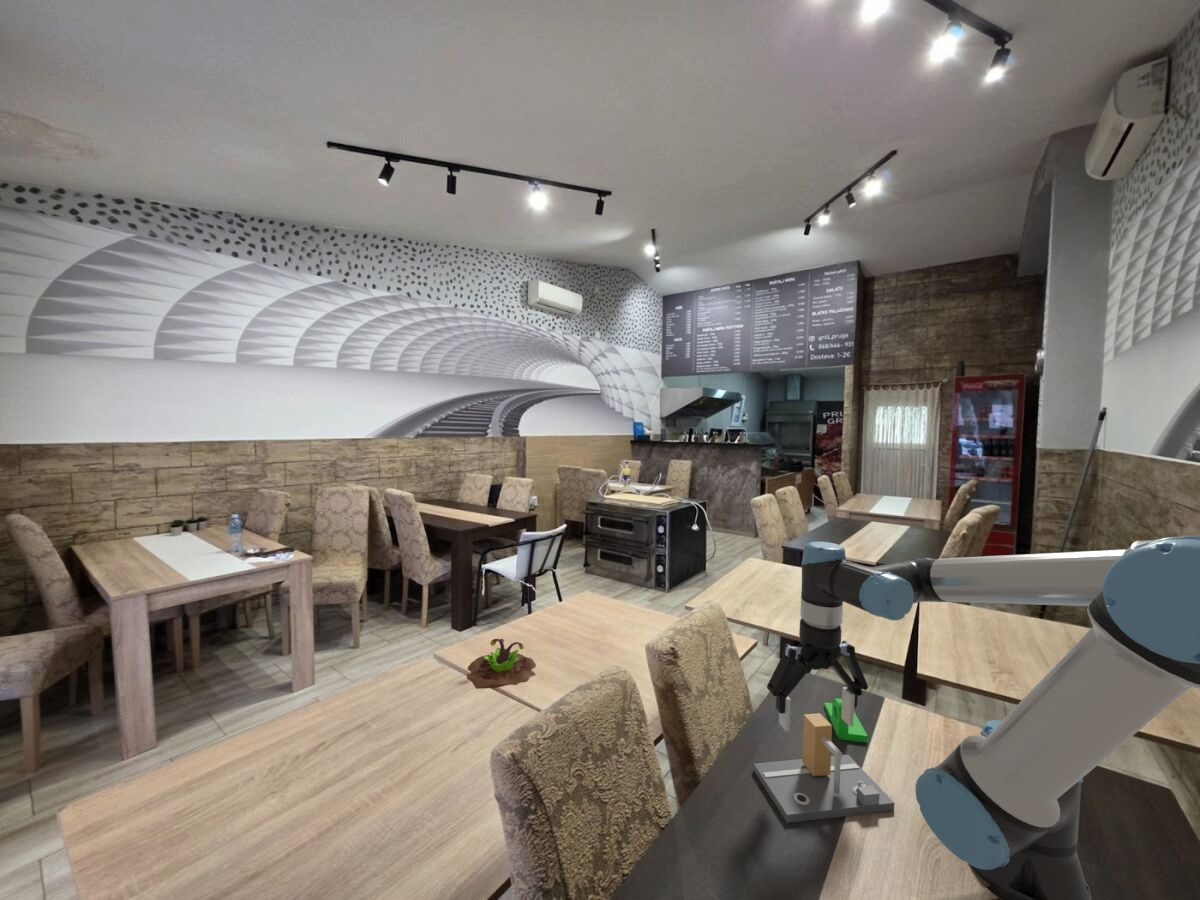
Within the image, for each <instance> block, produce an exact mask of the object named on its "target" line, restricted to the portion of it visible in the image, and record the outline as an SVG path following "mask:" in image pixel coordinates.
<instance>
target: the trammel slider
mask: <svg viewBox="0 0 1200 900" xmlns="http://www.w3.org/2000/svg"><path fill="white" fill-rule="evenodd" d="M802 727H803V730H802V732H803V733H802V734H803V735H802V759H803V761H802V762H803V763H804V765H805V766H806V767H807V768H808V770H809V771H810V772H811V773H812V775H813V776H821V775H830V770H831V756H835V763H834V792H835V793H840V764H841V758H842V755H843V753H842V752H841V750H840V749H839V748H838V747H837V746H836V745H835V744H834V743H833V742H832V738H833V737H832V733H833V732H832V731H833V730H832V729H833V725H832V723H831V722H829V721H828V720H827V718H825V717H824V716H823V714H821V712H818V713H816V712H815V713H807V714H805V713H804V714H803V726H802Z"/></svg>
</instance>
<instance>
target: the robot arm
mask: <svg viewBox="0 0 1200 900" xmlns="http://www.w3.org/2000/svg"><path fill="white" fill-rule="evenodd" d="M846 558H847V556H846V549H845V548H844V546H841V545H840V544H837V543H833V542H829V541H809V542H808V543H806V544H805V545H804V546H803V553H802V561H801V594H800V619H799V629H798V630H799V631H798V632H799V634H798V635H799V639H800V640H799V644H798V646H791V645H790V644H789V643H785V644H784V646H783V651H782V656H781V657H780V660H779V661H778V663H777V665H776V667H775V669H774V672H773V674H772V676H771V677H770V679H769V680H768V683H767V685H766V688H767V690H768V691H769V692H770V693H771V694H772V695H773V697H775V708H776V710H777V711H778V724H779V725H780V727H782V729H783V730H784V732H787V733H788V732H790V728H791V726H790V725H791V724H790V723H791V703H792V699H791V698H790V697H789V695H790V694H791V693H792V691H793V690H794V689H795V688H796V687H797V685H799V683H800V682H801V681H802V679H803V678H804V676H806V675H807V674H810V673H811V671H812V670H814V671H817V670H821V669H823V670H829V669H830V668H832V669H833V671H834V672H835V673H836V674H837V675H838V677H839V678H840V680H841V681H842V682H843V683H844V684H845V686H843V687H842V691H841V692H842V694H841V699H842V711H841V718H842V719H843V720H844V721H845V722H846V723H847V724H848V725H849V726H853V721H854V712H855V708H857V706H858V697H860V696H862V695H863V691H862V690H864V691H866V690H868V689H869V686H868V683H867V680H866V678H865V676H864V673H863V671H862V668H861V667H860V664H859V662H858V660H857V658H856V648H855V646H854V645H852V644H851V643H849V642H848V640H842V631H843V629H842V627H843V626H842V623H843V613H844V612H843V611H844V610H843V608H844V606H843V605H844V603H846V604H847V605H850V606H853V607H855V608H858V609H860V610H862V611H865V612H867V613H869V614H870V615H873V616H875V617H880V618H882V619H883V618H884V619H887V620H889V621H900V620H902V619H904V618H905V617H906V615H907V614H909V613H910V611H911V610H912V607H913V604H917V603H924V602H927V603H977V604H1007V605H1008V604H1009V605H1013V604H1014V605H1039V606H1040V605H1041V606H1042V605H1044V606H1068V607H1069V606H1071V607H1072V606H1073V607H1075V606H1076V607H1087V608H1086V612H1087V616H1088V617H1089V621H1090V622H1091V624H1092V627H1091V628H1090V629H1089V630H1087V632H1085V634H1084V635H1083V636H1082V637H1081V638H1080V639H1079V640H1078V642H1077V643H1076V644H1074V646H1073V647H1072V648H1070V650H1069V651H1068V652H1067V653H1066V654H1065V655H1064V656H1063V657H1062V658H1061V659H1060V660H1059V661H1058V663H1056V665H1054V666H1053V667H1052V668H1051V670H1050V671H1049V672H1048V673H1046V675H1045V676H1044V677H1043V678H1041V680H1040V681H1039V682H1038V683H1037V684H1036V685H1035V686H1034V687H1033V688H1032V689H1031V690H1030V692H1028V693H1027V695H1026V696H1024V697H1023V698H1022V699H1021V701H1019V703H1018V704H1016V706H1015V707H1014V708H1013V709H1012V710H1011V711H1010V712H1009V713H1008V714H1007V715H1006V716H1005V717H1004V718H1003V720H997V719H994V720H992V719H991V720H988V721H986V722H984V723H983V725H982V729H981V731H980V735H969V736H967V737H965V738H964V739H963V740H962V741H961V742H960V743H959V744H958V745H957V746H956V747H955V748H954V750H952V752H951V753H950V754H948V756H947V757H946V758H945V759H944V760H943V761H942V762H940V763H939V764H938V765H937V766H934V767H931V768H927V769H925V770H924V771H923V773H922V774H920V776H918V778H917V780H916V784H915V791H914V792H915V798H916V801H917V803H918V805H919V809H920V813H921V816H922V817H923V819H924V821H925V822H926V824H927V826H928V828H929V829H930V830H931V832H932V833H933V834H934V836H935V837H936V838H937V839H938V840H939V842H941V844H942V845H943V846H944V847H945V848H946V849H947V850H949V852H950V853H952V854H953V855H954V856H955V857H957V859H959V860H961V861H963V862H965V863H967V864H969V865H970V866H971V867H972V868H973V870H974V871H975V873H977V874H978V876H979V877H981V879H982V880H983V881H984V882H986V884H988V885H987V886H986V888H987V889H988V890H989V891H990V892H992V893H993V894H994V895H995V896H996V897H998V898H1000V899H1001V900H1092V894H1091V889H1090V887H1089V885H1088V883H1087V880H1086V878H1085V876H1084V873H1083V869H1082V865H1081V861H1080V858H1079V855H1078V839H1079V837H1078V835H1079V826H1080V825H1079V823H1080V822H1079V821H1080V808H1081V794H1082V793H1081V791H1082V783H1083V782H1084V777H1085V776H1086V775H1088V774H1089V773H1090V772H1091V771H1093V770H1094V769H1095V768H1096V767H1097V766H1099V765H1100V764H1101V763H1102V762H1103V761H1104V760H1105V759H1107V758H1108V757H1109V756H1111V755H1112V754H1113V753H1114V752H1115V751H1117V749H1119V748H1120V747H1121V746H1123V745H1124V744H1125V743H1126V742H1127V741H1128V740H1130V739H1131V738H1132V737H1134V735H1136V734H1137V733H1138V732H1139V731H1140V730H1142V729H1143V728H1144V727H1145V726H1146V725H1148V723H1150V722H1152V720H1154V719H1155V718H1156V717H1157V716H1158V715H1159V714H1161V713H1162V712H1164V710H1165V709H1167V708H1168V707H1169V706H1170V705H1171V704H1173V703H1174V702H1175V701H1176V700H1178V699H1179V698H1180V697H1181V696H1183V694H1185V693H1186V692H1187V691H1189V689H1191V688H1192V689H1199V690H1200V531H1197V532H1193V533H1190V534H1185V535H1181V536H1172V537H1164V538H1159V539H1147V540H1146V539H1145V540H1136V541H1134V542H1133V543H1132V544H1131V545H1130V546H1129V547H1128V548H1127V549H1126V548H1125V549H1108V550H1107V549H1106V550H1085V551H1067V552H1066V551H1065V552H1047V553H1046V552H1045V553H1044V552H1043V553H1027V554H1008V555H1004V554H1003V555H987V556H986V555H985V556H969V557H967V556H966V557H950V558H949V557H947V558H936V559H935V558H930V557H920V558H919V557H918V558H911V559H909V560H905V561H904V560H903V561H899V562H893V563H887V564H881V565H876V566H866V565H863V564H858V563H856V562H854V561H849V560H847V559H846ZM841 654H842V655H843V658H844V661H845V663H846V664H847V667H848V670H849V672H850V674H851V677H852V678H851V677H850V675H849V673H847V672H846V670H845V669H844V668H843V666H842V665H841V663H840V662H839V661H838V657H839V656H840V655H841ZM804 663H805V665H804Z"/></svg>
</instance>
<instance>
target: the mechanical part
mask: <svg viewBox="0 0 1200 900" xmlns="http://www.w3.org/2000/svg"><path fill="white" fill-rule="evenodd" d="M824 709H825V711H826V714H827V715H828V719H829V721H830V724H831V725H832V728H833V730H834V732H835V735H836V737H837V739H838V740H843V741H851V742H856V743H857V742H859V743H869V742H868V740H869V739H868V738H869V737H868V734H867V733H866V731H865V728H864V727H863V725H862V723H861V722H860V719H859V718H858V716H857V714H856V712H855V711H854V721H853V726H849V725H848V724H847V723H846V722H845V721H844V720H843V719H842V718H841V711H842V698H838V697H834V698H832V702H824Z"/></svg>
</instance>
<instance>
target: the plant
mask: <svg viewBox="0 0 1200 900" xmlns="http://www.w3.org/2000/svg"><path fill="white" fill-rule="evenodd" d="M497 642H499V646H500V647H497V648H496V649H495V652H492V651H491V652H490V654H487V655H482V656H479V657H477V658H476V659H475V660H472V662H471V663H470V664H469V665H468V667H467V671H469V672H470V673H467V674H466V679H467V680H468V681H470V682H472V683H473V685H474V687H475V689H479V690H480V689H482V690H483V689H489V688H500V687H504V686H509V685H513V686H518V684H521V683H527V682H528V681H529V680H530V678H532V677H535V676H536V673H535V672H534V671H533V669H535V668H536V666H537V665H536V662H535V661H534V659H533V658H531V657H527V656H525V655H523V654H522V653H519V649H520V650H523V649H524V648H525V646H524V644H523V643H521V642H518V641H515V642H512V643H511V644H510V645H509V646H508V647H507V648H505V644H504V642H505V640H504V639H503V638H494V639H492V640H491V641H490V643H489V644H490V645H491V647H492V646H495V645H496V643H497ZM516 645H518V646H519V647H518V648H519V649H515V650H513V651H511V649H512V648H513V647H514V646H516ZM510 651H511V652H510Z"/></svg>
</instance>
